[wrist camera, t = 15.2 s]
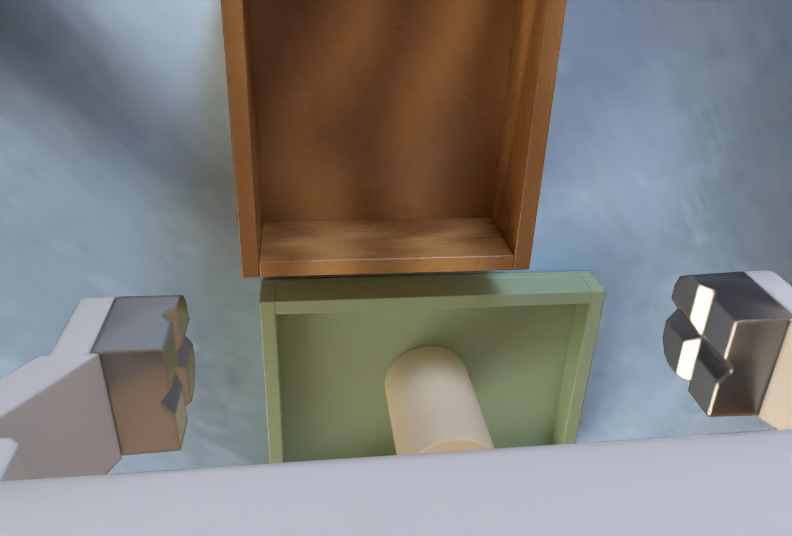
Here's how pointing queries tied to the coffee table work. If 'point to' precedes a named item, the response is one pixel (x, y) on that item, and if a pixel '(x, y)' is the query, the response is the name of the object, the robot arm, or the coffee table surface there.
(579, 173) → the coffee table surface
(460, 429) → the candle
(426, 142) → the wooden box
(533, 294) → the tray
